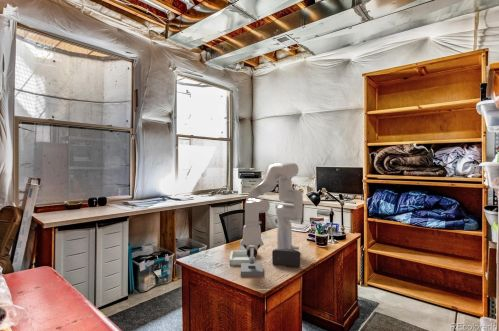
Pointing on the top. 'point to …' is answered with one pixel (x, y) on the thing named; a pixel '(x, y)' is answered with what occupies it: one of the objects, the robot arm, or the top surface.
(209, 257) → the top surface
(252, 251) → the pin
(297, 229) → the top surface
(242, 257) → the parts tray
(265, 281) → the top surface
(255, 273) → the grey square hole plate
